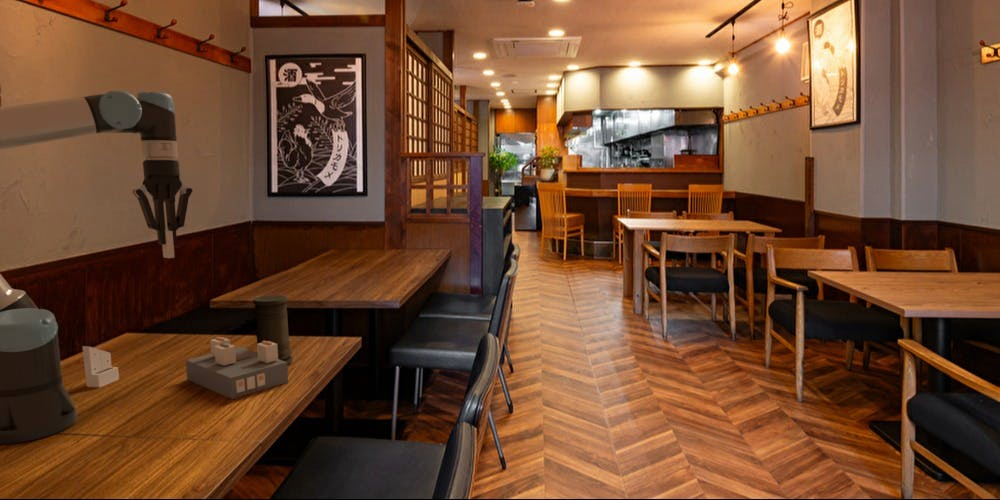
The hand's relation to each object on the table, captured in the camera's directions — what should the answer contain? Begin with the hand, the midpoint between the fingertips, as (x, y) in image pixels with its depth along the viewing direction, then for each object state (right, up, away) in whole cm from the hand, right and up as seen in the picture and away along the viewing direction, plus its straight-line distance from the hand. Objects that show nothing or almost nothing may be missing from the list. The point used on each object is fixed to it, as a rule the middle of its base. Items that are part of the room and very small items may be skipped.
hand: (168, 257), depth 147 cm
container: (+21, -29, +14) cm, 38 cm away
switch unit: (+16, -30, +1) cm, 34 cm away
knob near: (+24, -25, 0) cm, 35 cm away
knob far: (+11, -25, +4) cm, 27 cm away
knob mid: (+15, -25, -2) cm, 29 cm away
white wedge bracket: (-16, -31, +1) cm, 35 cm away
